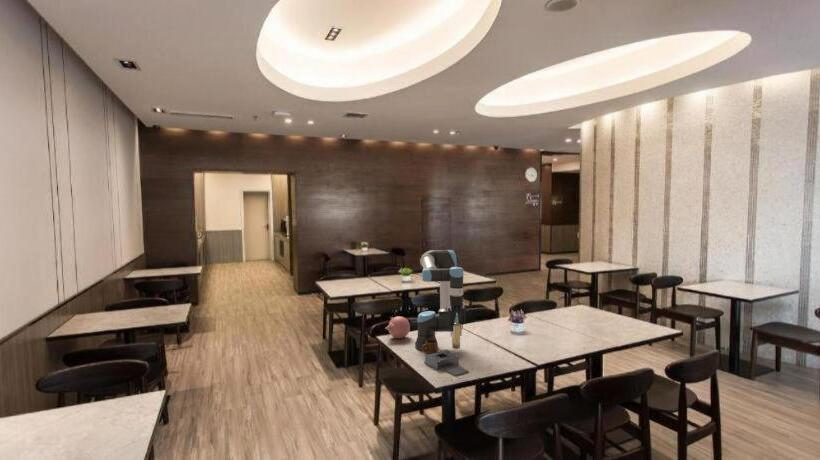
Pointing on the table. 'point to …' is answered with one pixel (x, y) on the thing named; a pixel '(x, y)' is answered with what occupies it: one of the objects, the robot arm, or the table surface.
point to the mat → (456, 370)
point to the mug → (430, 347)
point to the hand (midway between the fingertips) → (456, 336)
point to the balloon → (398, 327)
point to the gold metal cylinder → (456, 336)
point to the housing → (441, 359)
